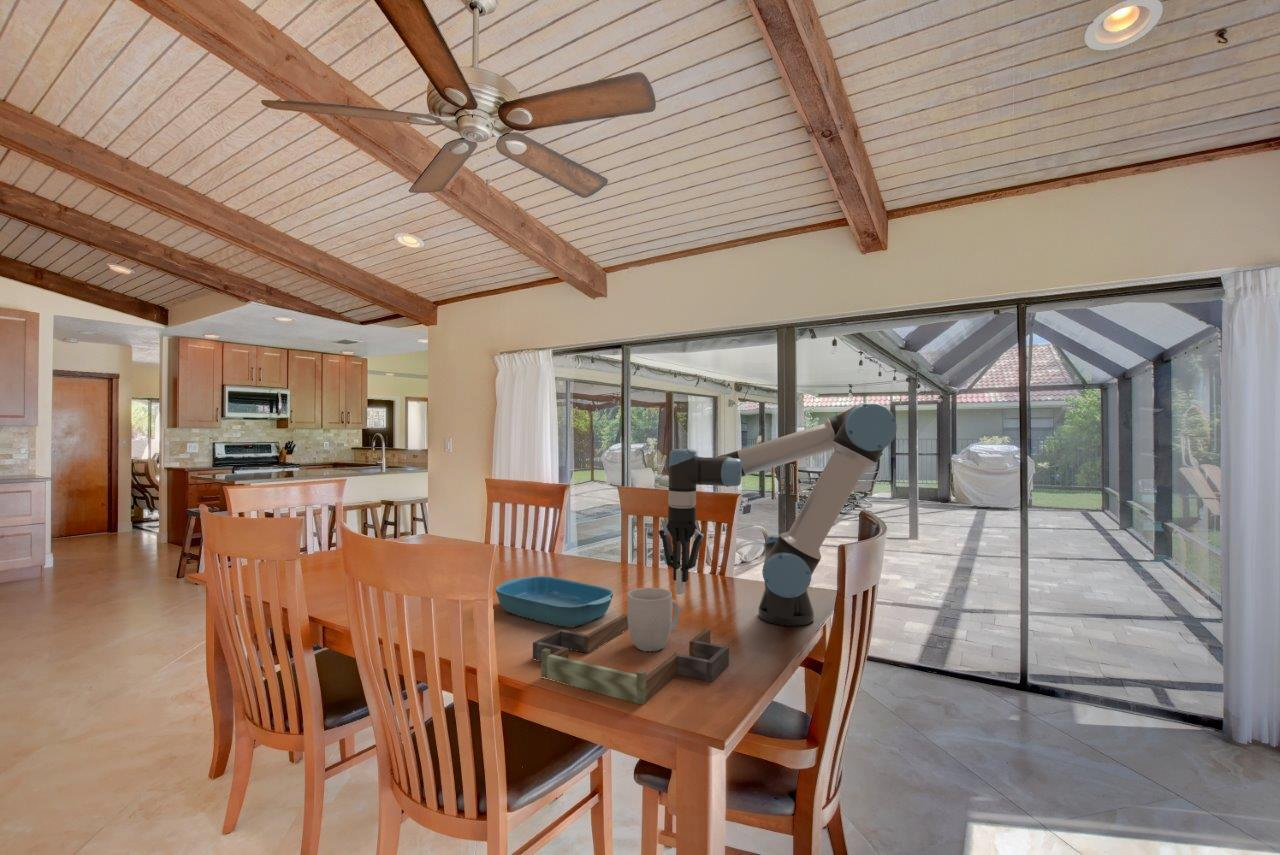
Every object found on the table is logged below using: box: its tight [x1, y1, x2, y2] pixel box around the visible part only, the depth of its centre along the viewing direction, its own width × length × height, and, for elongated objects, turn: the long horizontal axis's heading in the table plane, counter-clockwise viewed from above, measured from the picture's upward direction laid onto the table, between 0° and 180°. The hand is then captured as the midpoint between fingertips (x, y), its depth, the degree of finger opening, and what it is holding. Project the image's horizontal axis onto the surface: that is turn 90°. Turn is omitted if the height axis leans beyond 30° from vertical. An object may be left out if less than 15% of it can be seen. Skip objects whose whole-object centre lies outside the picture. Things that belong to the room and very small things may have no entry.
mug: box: [626, 587, 681, 653], centre depth 143 cm, size 15×11×13 cm
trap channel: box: [532, 613, 730, 706], centre depth 134 cm, size 40×35×6 cm
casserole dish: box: [495, 575, 615, 628], centre depth 169 cm, size 37×22×7 cm, turn 57°
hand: (680, 593), depth 158 cm, fingers closed
